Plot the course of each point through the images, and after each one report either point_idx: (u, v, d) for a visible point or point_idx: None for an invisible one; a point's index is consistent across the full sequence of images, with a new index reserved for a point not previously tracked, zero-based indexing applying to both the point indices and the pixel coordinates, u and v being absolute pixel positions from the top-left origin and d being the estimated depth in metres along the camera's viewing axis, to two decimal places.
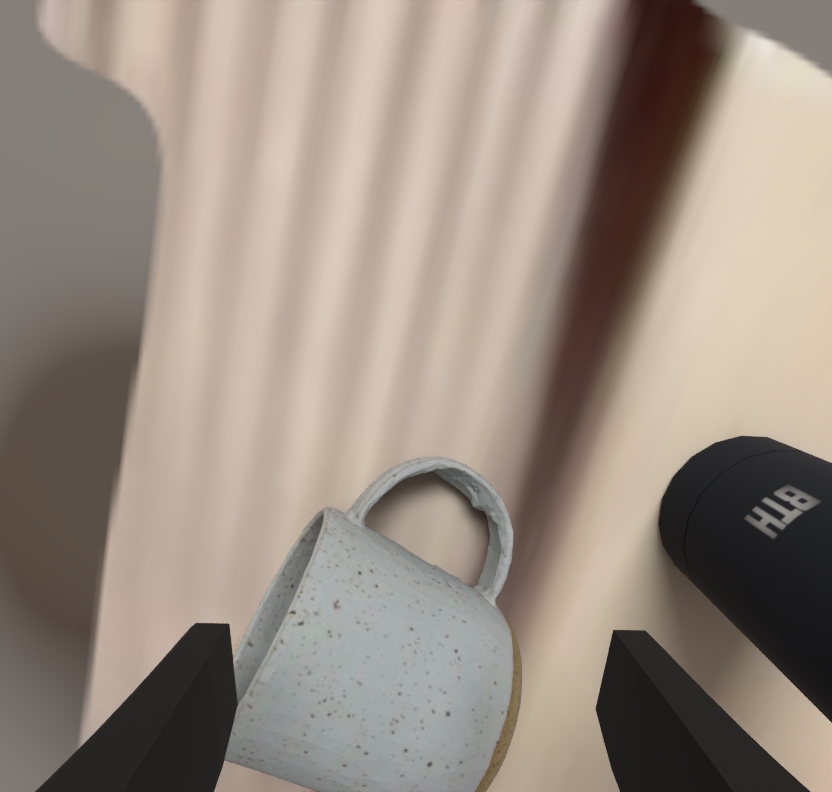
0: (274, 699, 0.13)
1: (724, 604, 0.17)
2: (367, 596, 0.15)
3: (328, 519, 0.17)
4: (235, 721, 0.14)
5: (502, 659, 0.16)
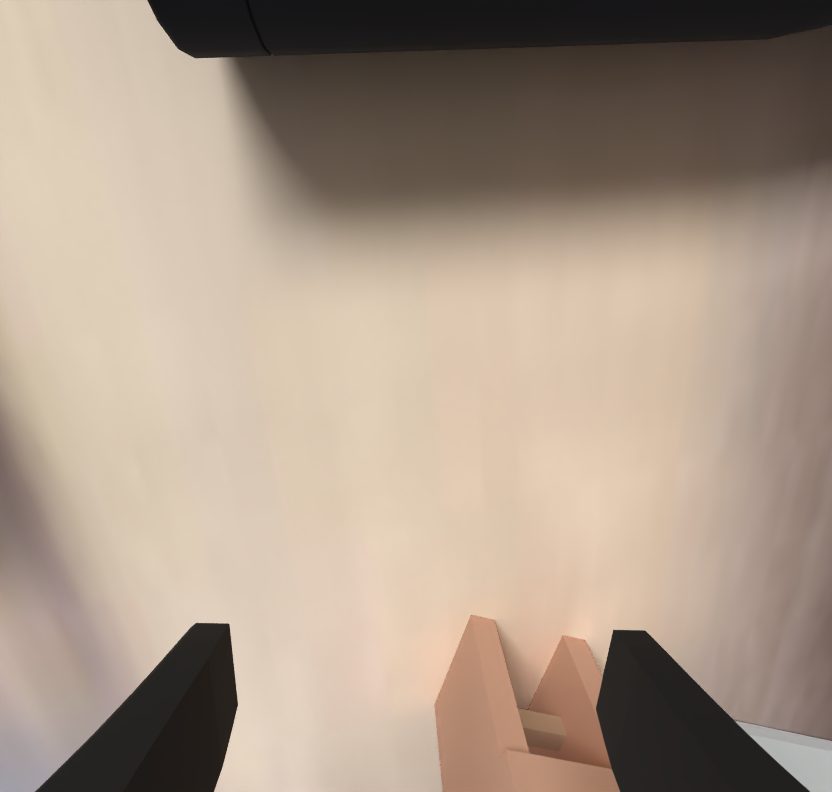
0: None
1: None
2: None
3: None
4: None
5: None
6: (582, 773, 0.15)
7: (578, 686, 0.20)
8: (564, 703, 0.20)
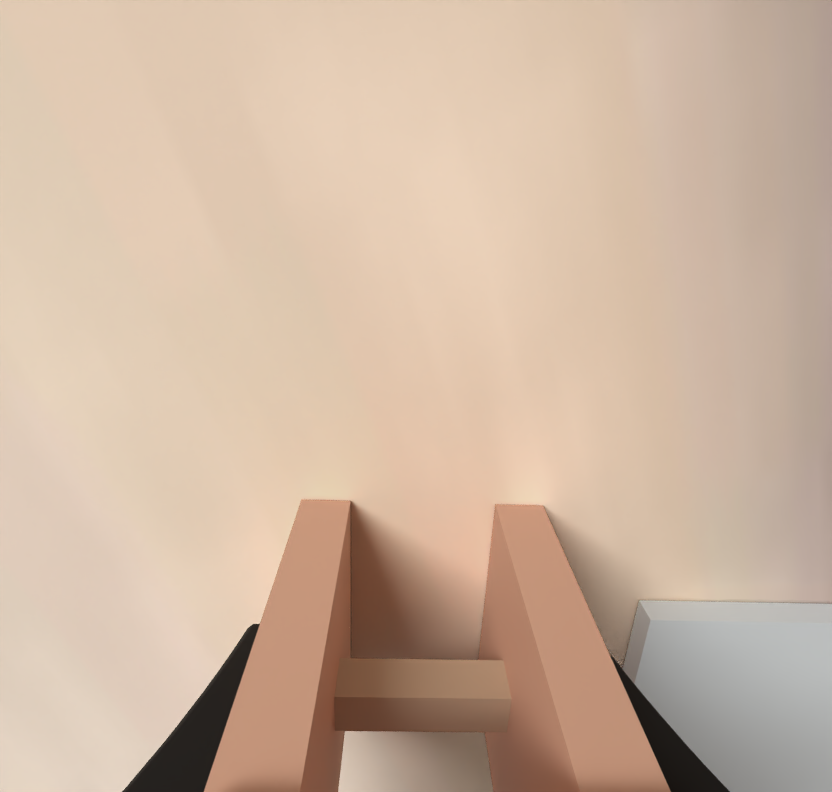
0: None
1: None
2: None
3: None
4: None
5: None
6: None
7: (514, 592, 0.09)
8: (504, 632, 0.10)
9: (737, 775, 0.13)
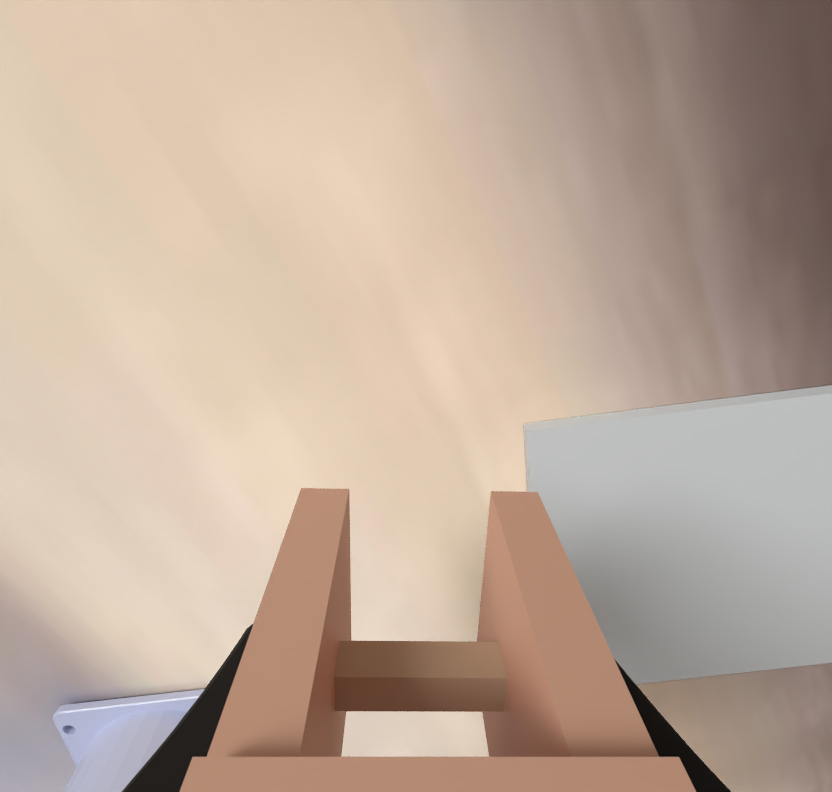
0: None
1: None
2: None
3: None
4: None
5: None
6: (422, 789, 0.05)
7: (508, 573, 0.09)
8: (500, 614, 0.10)
9: (622, 542, 0.19)
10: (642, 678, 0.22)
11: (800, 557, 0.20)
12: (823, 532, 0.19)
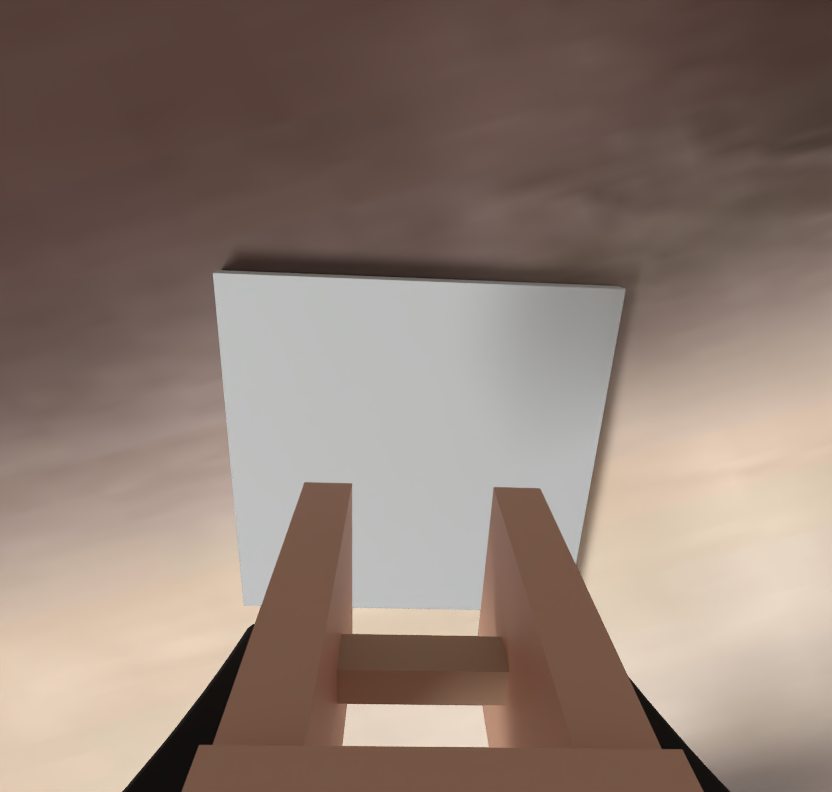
0: None
1: None
2: None
3: None
4: None
5: None
6: (428, 778, 0.05)
7: (511, 568, 0.09)
8: (502, 609, 0.10)
9: (379, 535, 0.18)
10: (575, 517, 0.18)
11: (436, 354, 0.16)
12: (403, 331, 0.16)
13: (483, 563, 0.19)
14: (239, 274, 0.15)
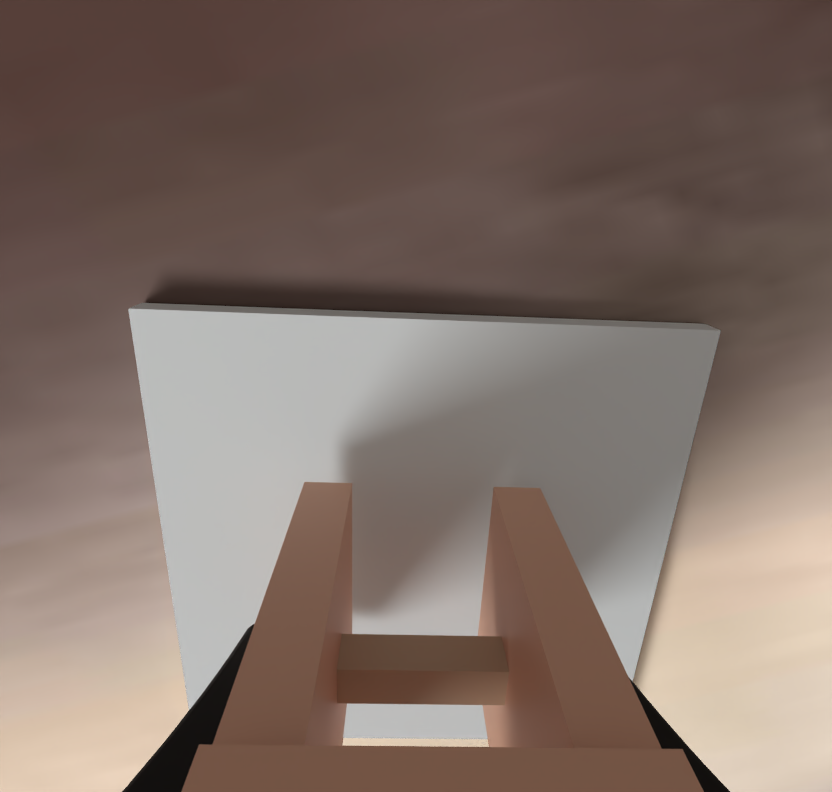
0: None
1: None
2: None
3: None
4: None
5: None
6: (428, 778, 0.05)
7: (512, 568, 0.09)
8: (502, 609, 0.10)
9: None
10: (634, 628, 0.14)
11: (449, 420, 0.12)
12: (403, 388, 0.11)
13: None
14: (167, 310, 0.11)
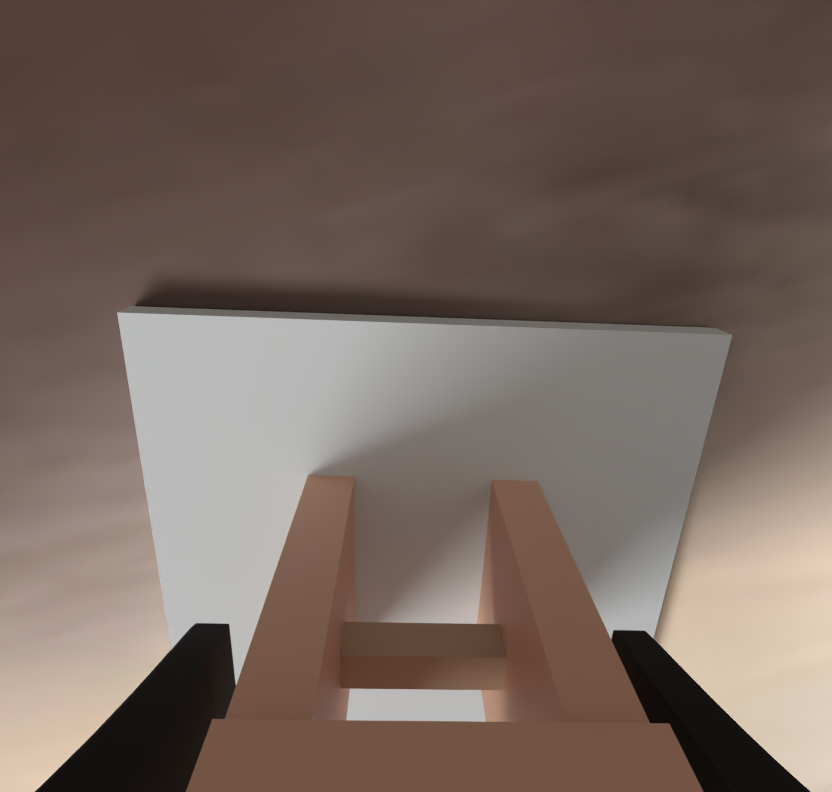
0: None
1: None
2: None
3: None
4: None
5: None
6: (428, 749, 0.05)
7: (509, 558, 0.10)
8: (500, 597, 0.10)
9: None
10: None
11: (451, 427, 0.11)
12: (403, 395, 0.11)
13: None
14: (157, 314, 0.10)
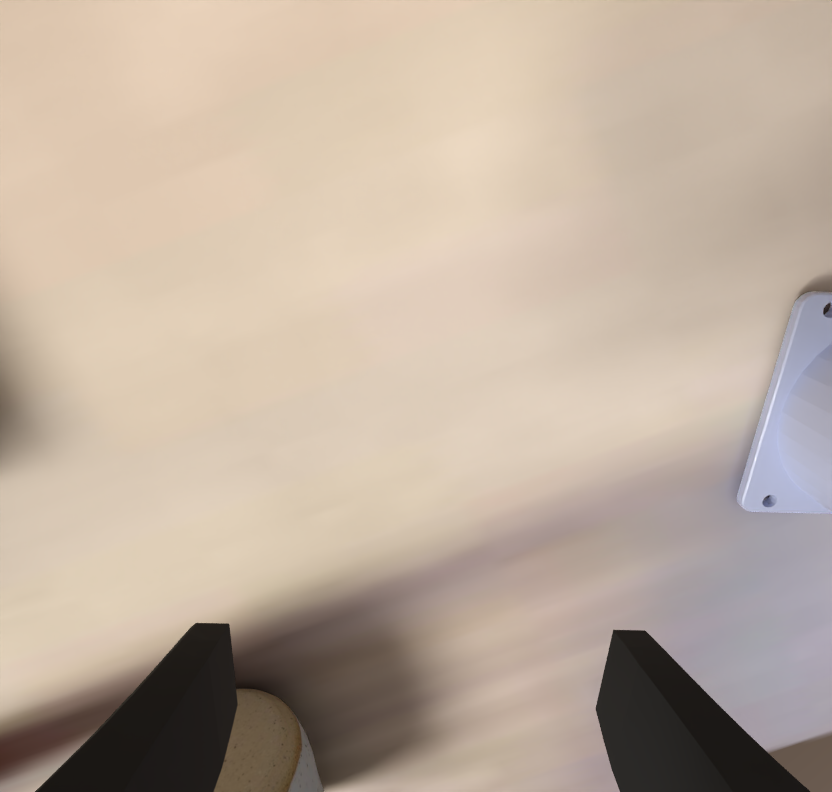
0: None
1: None
2: None
3: None
4: None
5: None
6: None
7: None
8: None
9: None
10: None
11: None
12: None
13: None
14: None
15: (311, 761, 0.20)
